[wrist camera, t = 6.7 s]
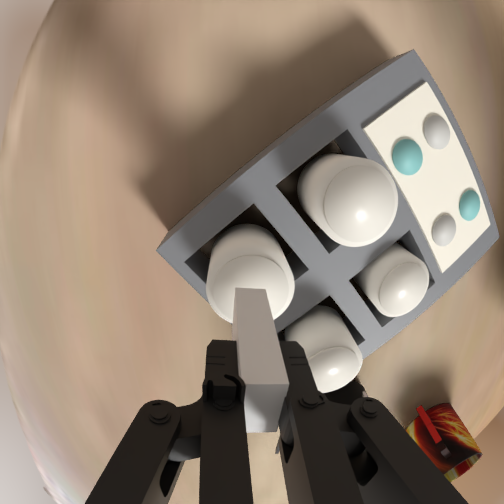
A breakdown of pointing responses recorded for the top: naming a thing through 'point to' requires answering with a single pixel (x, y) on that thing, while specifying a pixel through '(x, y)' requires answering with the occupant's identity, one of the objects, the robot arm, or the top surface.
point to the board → (408, 188)
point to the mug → (445, 440)
